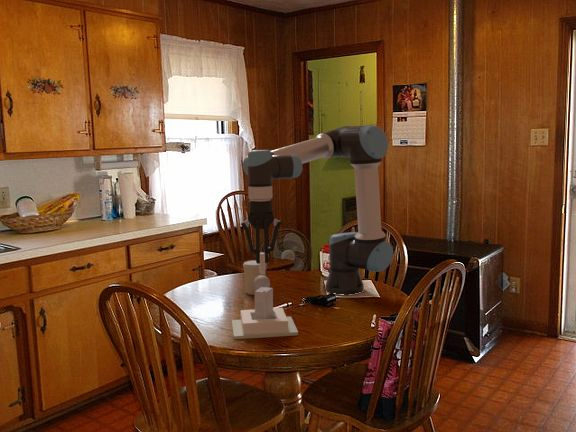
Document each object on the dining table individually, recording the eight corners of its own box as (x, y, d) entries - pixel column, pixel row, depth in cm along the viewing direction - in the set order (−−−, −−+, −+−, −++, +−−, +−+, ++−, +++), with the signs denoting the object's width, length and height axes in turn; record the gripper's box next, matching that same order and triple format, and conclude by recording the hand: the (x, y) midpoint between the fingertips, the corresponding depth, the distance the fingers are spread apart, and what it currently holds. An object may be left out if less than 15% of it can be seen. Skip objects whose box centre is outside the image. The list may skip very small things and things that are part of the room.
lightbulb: (268, 307, 212) (267, 277, 211) (252, 306, 214) (251, 277, 212) (272, 302, 218) (271, 273, 217) (256, 302, 220) (255, 273, 218)
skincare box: (261, 322, 193) (260, 286, 191) (274, 323, 191) (273, 287, 190) (254, 328, 187) (253, 291, 185) (267, 329, 185) (266, 292, 184)
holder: (291, 319, 198) (290, 306, 198) (298, 335, 183) (298, 321, 182) (231, 322, 196) (231, 309, 195) (233, 339, 180) (233, 325, 179)
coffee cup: (271, 292, 232) (271, 262, 231) (251, 296, 227) (250, 266, 225) (259, 287, 240) (258, 259, 238) (239, 291, 235) (238, 262, 233)
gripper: (279, 197, 188) (281, 269, 191) (238, 199, 186) (241, 271, 189) (282, 200, 180) (284, 275, 184) (240, 201, 179) (242, 277, 182)
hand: (262, 273), depth 187 cm, fingers closed
